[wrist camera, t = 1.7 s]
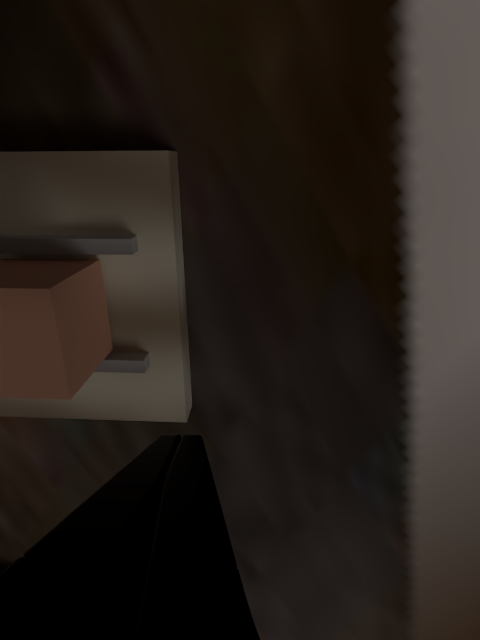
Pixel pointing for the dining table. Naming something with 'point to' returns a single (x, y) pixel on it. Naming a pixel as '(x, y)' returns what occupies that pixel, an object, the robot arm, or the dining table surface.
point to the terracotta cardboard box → (51, 326)
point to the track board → (109, 271)
